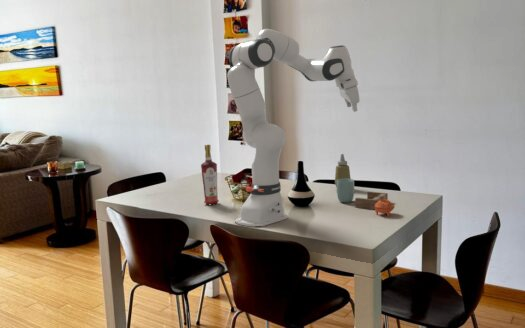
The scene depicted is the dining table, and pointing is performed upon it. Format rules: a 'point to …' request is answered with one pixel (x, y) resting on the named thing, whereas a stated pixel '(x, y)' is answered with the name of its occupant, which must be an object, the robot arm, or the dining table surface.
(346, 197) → the cup
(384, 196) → the dock
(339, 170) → the squeeze bottle
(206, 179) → the liquor
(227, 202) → the dining table surface
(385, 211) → the orange rounded figure
